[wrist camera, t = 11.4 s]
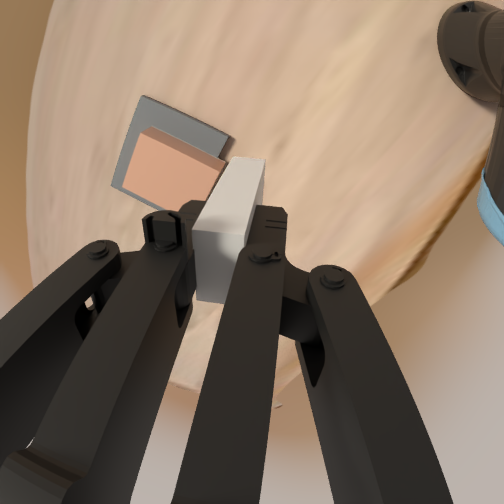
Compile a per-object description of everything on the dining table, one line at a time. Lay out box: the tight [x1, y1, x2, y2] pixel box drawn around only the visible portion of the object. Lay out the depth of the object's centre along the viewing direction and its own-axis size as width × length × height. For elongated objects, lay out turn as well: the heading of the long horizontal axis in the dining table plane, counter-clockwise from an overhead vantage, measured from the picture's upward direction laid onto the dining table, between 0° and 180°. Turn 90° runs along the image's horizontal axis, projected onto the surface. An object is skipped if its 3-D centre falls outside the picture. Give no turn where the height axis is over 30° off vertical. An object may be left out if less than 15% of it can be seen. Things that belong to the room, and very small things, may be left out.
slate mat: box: [111, 95, 229, 211], centre depth 45 cm, size 14×16×1 cm
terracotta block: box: [122, 126, 226, 211], centre depth 44 cm, size 4×9×12 cm
